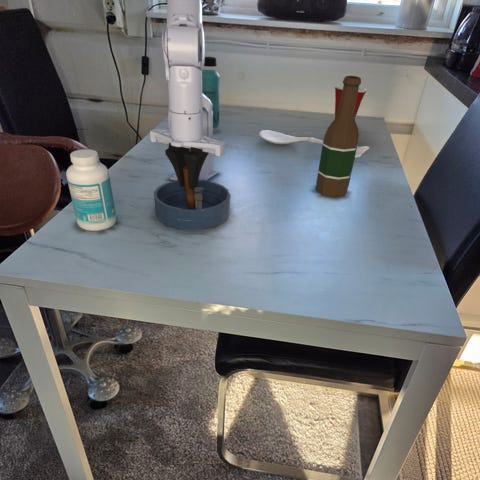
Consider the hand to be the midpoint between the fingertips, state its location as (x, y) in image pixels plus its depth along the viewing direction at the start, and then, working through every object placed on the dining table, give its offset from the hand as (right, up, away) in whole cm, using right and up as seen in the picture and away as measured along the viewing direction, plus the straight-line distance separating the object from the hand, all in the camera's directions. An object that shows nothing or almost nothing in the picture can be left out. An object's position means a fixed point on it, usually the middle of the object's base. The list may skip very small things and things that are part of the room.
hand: (188, 186), depth 82 cm
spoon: (+30, +23, +41) cm, 56 cm away
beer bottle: (+32, +4, +19) cm, 37 cm away
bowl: (0, -4, +6) cm, 7 cm away
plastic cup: (+45, +41, +63) cm, 88 cm away
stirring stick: (0, -4, +5) cm, 6 cm away
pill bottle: (-18, -7, +1) cm, 19 cm away
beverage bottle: (0, +33, +51) cm, 61 cm away
